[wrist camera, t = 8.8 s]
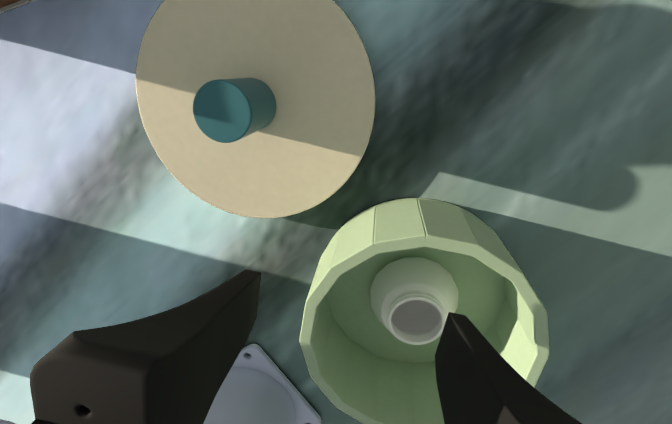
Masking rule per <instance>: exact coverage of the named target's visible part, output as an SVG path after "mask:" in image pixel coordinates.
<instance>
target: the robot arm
mask: <svg viewBox="0 0 672 424" xmlns="http://www.w3.org/2000/svg"><path fill="white" fill-rule="evenodd" d="M260 280H261V273H260V272H255V271H251V270H244V271H243V272H241V273H239V274H238V275H236V276H234V277H233V278H231V279H229V280H228V281H226V282H225V283H223V284H221V285H220V286H218V287H216V288H214V289H213V290H211V291H209V292H207V293H205V294H203V295H201V296H199V297H197V298H195V299H193V300H191V301H189V302H187V303H185V304H183V305H180V306H178V307H175V308H173V309H170V310H168V311H165V312H162V313H159V314H155V315H152V316H149V317H146V318H143V319H139V320H135V321H131V322H127V323H123V324H118V325H113V326H108V327H102V328H95V329H88V330H81V331H74V332H73V333H72V334H70V335H69V336H68V337H67V338H65V339H64V340H63V341H62V342H60V343H59V344H58V345H57V346H56V347H55V348H53V349H52V350H51V351H50V352H49V353H48V354H46V355H45V356H44V357H43V358H42V359H40V360H39V361H38V362H37V363H36V364H35V365H34V367H33V369H32V372H31V374H30V387H31V394H32V400H33V407H34V413H35V419H36V420H35V421H34V422H33V423H32V424H309V423H310V424H321V417H320V416H319V414H318V413H317V412H316V411H315V410H314V409H313V407H312V406H311V405H310V404H309V403H308V402H307V400H306V399H305V398H304V397H303V396H302V395H301V394H300V392H299V391H298V390H297V389H296V388H295V387H294V385H293V384H292V383H291V382H290V381H289V380H288V378H287V377H286V376H285V375H284V374H283V373H282V372H281V370H280V369H279V368H278V367H277V366H276V365H275V363H274V362H273V361H272V360H271V359H270V358H269V356H268V355H267V354H266V353H265V352H264V351H263V349H262V348H261V347H260V346H259V345H257V344H250V345H248V346H246V347H245V348H243V346H244V345H245V343H246V341H247V339H248V337H249V334H250V332H251V330H252V327H253V325H254V322H255V320H256V317H257V308H258V299H259V289H260ZM242 348H243V349H242ZM246 353H249V354H250V355H247V354H246ZM435 370H436V382H437V387H438V393H439V398H440V403H441V408H442V413H443V418H444V423H445V424H582V423H580V422H579V421H577V420H576V419H574V418H573V417H571V416H570V415H569V414H567V413H566V412H564V411H563V410H562V409H560V408H559V407H558V406H556V405H555V404H554V403H552V402H551V401H550V400H548V399H547V398H546V397H545V396H544V395H542V394H541V393H540V392H539V391H537V390H536V389H535V388H534V387H533V386H532V385H531V384H529V383H528V382H527V381H526V380H525V379H524V378H523V377H522V376H521V375H520V374H518V373H517V372H516V371H515V370H514V369H513V368H512V367H511V366H510V365H509V364H508V363H507V362H506V361H505V359H504V358H503V357H502V356H501V355H500V354H499V353H498V352H497V351H496V350H495V349H494V348H493V346H492V345H491V344H490V343H489V342H488V341H487V340H486V338H485V337H484V336H483V335H482V334H481V333H480V331H479V330H478V329H477V328H476V327H475V326H474V324H473V323H472V322H471V321H470V320H469V319H468V318H467V317H466V316H465V315H462V314H457V313H452V312H449V313H448V316H447V319H446V322H445V325H444V328H443V332H442V335H441V338H440V341H439V344H438V347H437V350H436V353H435ZM0 424H15V423H13V422H9V421H5V420H1V419H0Z"/></svg>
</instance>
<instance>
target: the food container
mask: <svg viewBox="0 0 672 424" xmlns="http://www.w3.org/2000/svg"><path fill="white" fill-rule="evenodd" d="M33 1H35V0H0V14H1V13H3V12H6V11H9V10H11V9H14V8H17V7H19V6H22V5H25V4H27V3H30V2H33Z"/></svg>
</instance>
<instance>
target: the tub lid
mask: <svg viewBox="0 0 672 424" xmlns="http://www.w3.org/2000/svg"><path fill="white" fill-rule="evenodd" d="M136 91H137V101H138V106H139V111H140V115H141V119H142V122H143V125H144V128H145V131H146V133H147V135H148V138H149V140H150V142H151V144H152V146H153V148H154V150H155V151H156V153H157V155H158V157H159V158H160V160H161V161H162V162H163V164H164V165H165V166H166V168H167V169H168V170H169V172H170V173H171V174H172V175H173V176H174V177H175V178H176V179H177V180H178V181H179V182H180V183H181V184H182V185H183V186H184V187H185V188H187V189H188V190H189V191H190V192H191V193H193V194H194V195H196V196H197V197H199V198H200V199H202V200H203V201H205V202H207V203H209V204H211V205H212V206H214V207H216V208H219V209H221V210H224V211H226V212H229V213H233V214H237V215H240V216H245V217H252V218H278V217H286V216H290V215H294V214H298V213H300V212H303V211H306V210H308V209H311V208H313V207H314V206H316V205H318V204H320V203H322V202H323V201H325V200H326V199H327V198H329V197H330V196H332V195H333V194H334V193H335V192H336V191H337V190H338V189H339V188H341V187H342V186H343V185H344V184H345V183H346V181H347V180H348V179H349V177H350V176H351V175H352V174H353V172H354V171H355V169H356V168H357V166H358V164H359V162H360V161H361V159H362V157H363V155H364V152H365V150H366V148H367V145H368V143H369V139H370V135H371V132H372V128H373V122H374V115H375V86H374V78H373V73H372V69H371V65H370V61H369V57H368V55H367V52H366V50H365V47H364V45H363V42H362V40H361V38H360V36H359V35H358V33H357V31H356V29H355V27H354V26H353V24H352V23H351V21H350V20H349V19H348V17H347V16H346V14H345V13H344V12H343V10H342V9H341V8H340V7H339V6H338V5H337V4H336V3H335V2H334V1H333V0H164V1H163V2H162V4H161V5H160V6H159V8H158V9H157V11H156V12H155V14H154V15H153V17H152V18H151V20H150V22H149V25H148V27H147V29H146V31H145V33H144V36H143V39H142V43H141V46H140V49H139V55H138V60H137V68H136Z"/></svg>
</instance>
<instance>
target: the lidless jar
mask: <svg viewBox="0 0 672 424" xmlns="http://www.w3.org/2000/svg"><path fill="white" fill-rule="evenodd" d="M458 293H459V292H458V289H457V287H456V284H455V282H454V280H453V277H452V275H451V274H450V273H449V272H448V271H447V270H446V269H445V268H443V267H442V266H441V265H440V264H439V263H436V262H434V261H431V260H428V259H425V258H423V257H405V258H402V259H399V260H396V261H394V262H391V263H388V264H387V265H386V266H385V267H384V268H383V269H382V270H381V271H379V272H378V273H377V274H376V276H375V279H374V281H373V283H372V285H371V288H370V300H371V307H372V309H373V311H374V313H375V315H376V317H377V319H378V320H379V321H380V322H381V323H382V324H383V325H384V326H385V327H386V328H387V329H388V330H389V331H390V332H391V333H392V334H393V335H394V336H395V337H396V338H397V339H399V340H400V341H402V342H404V343H407V344H412V345H423V344H427V343H430V342H432V341H434V340H435V339H437V338H438V337H439V336H440V335H441V334H442V332H443V328H444V325H445V322H446V319H447V316H448V313H449V312H452V313H455V311H456V309H457V307H458Z"/></svg>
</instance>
